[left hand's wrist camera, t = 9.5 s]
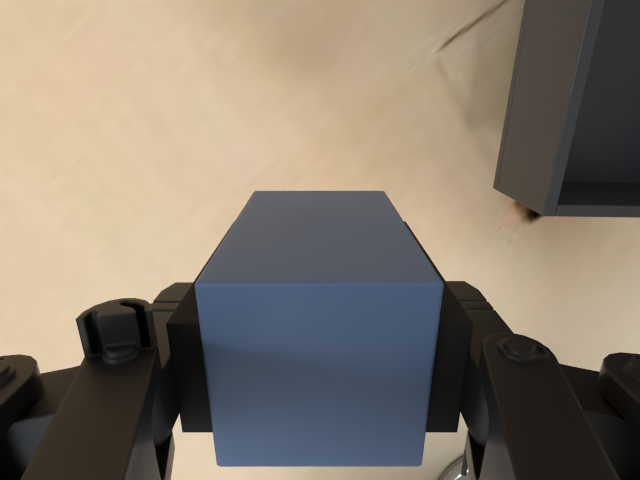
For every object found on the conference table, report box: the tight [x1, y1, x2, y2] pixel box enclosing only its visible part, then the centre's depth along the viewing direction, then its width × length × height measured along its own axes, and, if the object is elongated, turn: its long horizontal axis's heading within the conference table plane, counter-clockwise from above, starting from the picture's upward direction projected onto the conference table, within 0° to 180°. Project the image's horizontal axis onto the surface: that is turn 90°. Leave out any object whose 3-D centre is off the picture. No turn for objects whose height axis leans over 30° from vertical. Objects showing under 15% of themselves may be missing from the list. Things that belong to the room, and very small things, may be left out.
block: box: [195, 191, 443, 467], centre depth 11 cm, size 4×4×7 cm
